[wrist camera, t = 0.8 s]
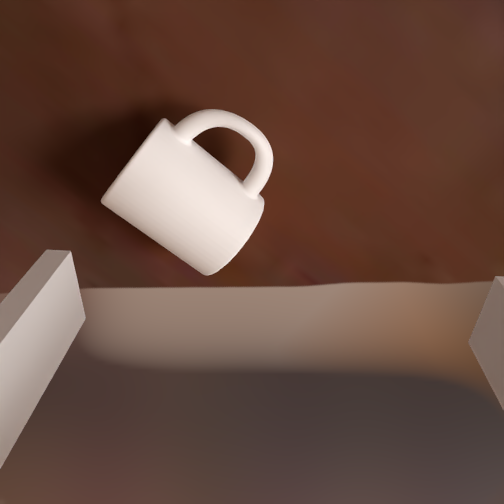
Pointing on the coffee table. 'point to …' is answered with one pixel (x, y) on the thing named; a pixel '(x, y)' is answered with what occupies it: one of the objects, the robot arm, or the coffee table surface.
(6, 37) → the coffee table surface
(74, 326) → the robot arm
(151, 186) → the mug
